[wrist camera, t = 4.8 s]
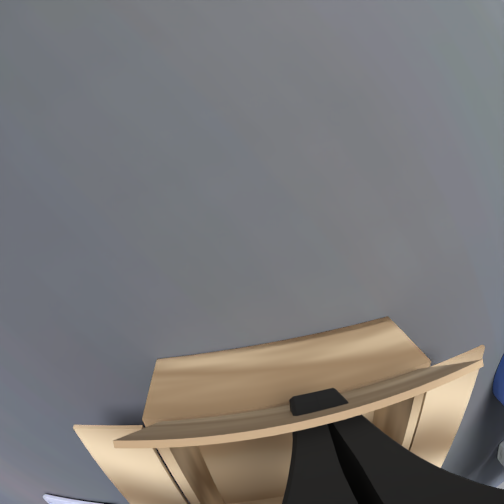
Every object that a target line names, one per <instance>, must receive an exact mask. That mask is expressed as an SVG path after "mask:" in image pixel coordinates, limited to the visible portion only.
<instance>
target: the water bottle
mask: <svg viewBox="0 0 504 504" xmlns="http://www.w3.org/2000/svg"><path fill="white" fill-rule="evenodd" d="M493 394H494V396H495V397H496V398H497V399H498V400H499V401H500V402H501V403H502V404H503V405H504V355H503V357H502V359H501V361H500V363H499V366H498V368H497V371H496V374H495V377H494V381H493Z"/></svg>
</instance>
